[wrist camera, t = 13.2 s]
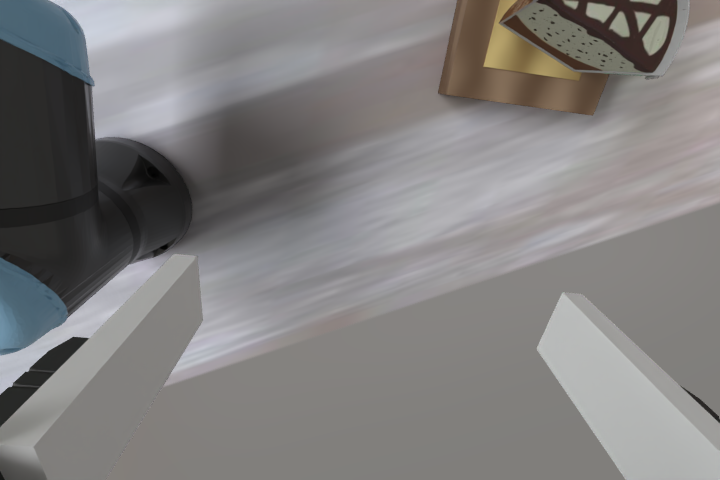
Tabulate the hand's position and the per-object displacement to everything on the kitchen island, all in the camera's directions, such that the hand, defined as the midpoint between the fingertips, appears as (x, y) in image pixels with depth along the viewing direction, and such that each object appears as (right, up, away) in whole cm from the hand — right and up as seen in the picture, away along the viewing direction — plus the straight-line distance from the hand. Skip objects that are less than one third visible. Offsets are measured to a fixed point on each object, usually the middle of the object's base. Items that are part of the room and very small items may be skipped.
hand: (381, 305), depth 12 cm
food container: (+18, +24, +20) cm, 36 cm away
